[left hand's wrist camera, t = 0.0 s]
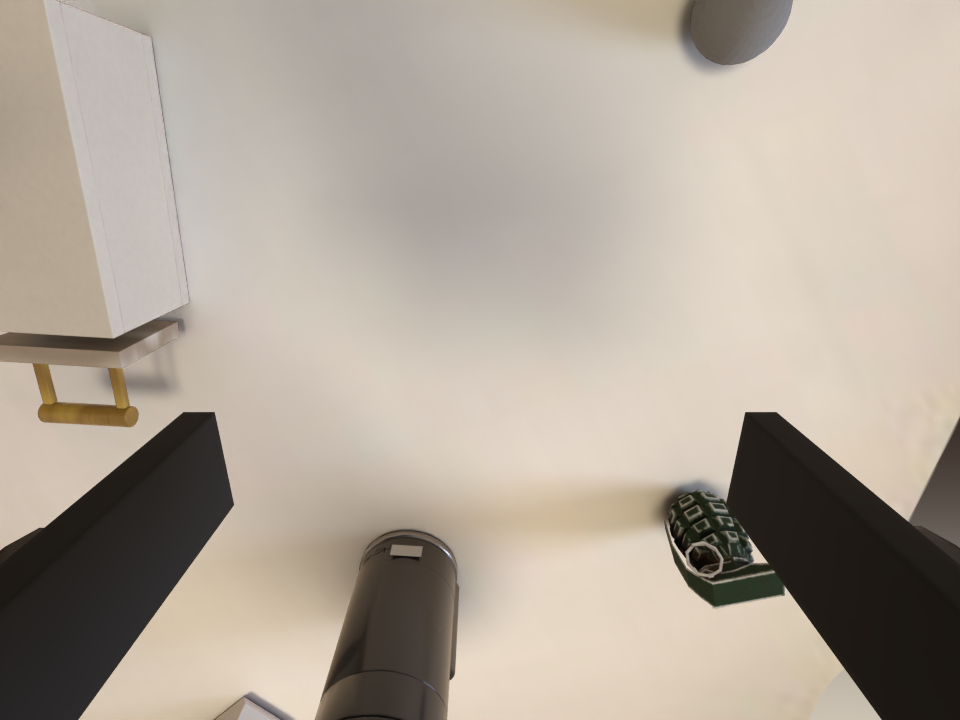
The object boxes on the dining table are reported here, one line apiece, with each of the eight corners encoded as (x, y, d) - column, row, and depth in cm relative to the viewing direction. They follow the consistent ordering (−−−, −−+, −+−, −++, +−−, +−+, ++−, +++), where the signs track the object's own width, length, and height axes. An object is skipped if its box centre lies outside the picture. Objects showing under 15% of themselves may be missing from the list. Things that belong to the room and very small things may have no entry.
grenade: (722, 473, 45) (784, 552, 36) (727, 523, 47) (787, 610, 38) (649, 488, 46) (692, 570, 37) (657, 537, 48) (700, 626, 39)
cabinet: (190, 302, 40) (113, 338, 32) (57, 294, 40) (-55, 328, 31) (151, 36, 34) (42, -6, 25) (-8, 25, 33) (-170, -22, 25)
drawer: (189, 398, 42) (137, 440, 36) (77, 392, 42) (4, 433, 35) (143, 99, 34) (64, 84, 28) (4, 89, 34) (-108, 71, 27)
